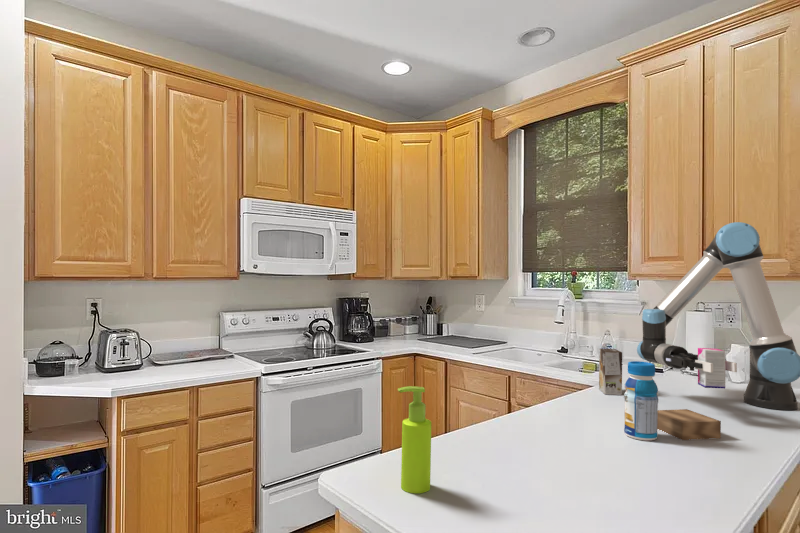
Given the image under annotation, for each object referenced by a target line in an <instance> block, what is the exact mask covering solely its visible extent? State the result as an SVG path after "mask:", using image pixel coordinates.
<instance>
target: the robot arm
mask: <svg viewBox="0 0 800 533" xmlns="http://www.w3.org/2000/svg"><path fill="white" fill-rule="evenodd" d="M760 241H761V240H760V234H759V232H758V231H757V229H756V228H755V227H754V226H753V225H751V224H749V223H746V222H740V221H738V222H737V221H734V222H729V223H727V224H724V225H723V226H722V227H720V229H719V230H718V231H717V232H716V234H715V236H714V237H713V239H712V240H711V242H710V244H709V245H708V246H707V247H706V248H705V249H704V250H703V252H702V253H703V255H702V257H701V258H700V259H698V261H697V262H696V263H695V264H694V265H693V266H692V267H691V268H690V270H689V271H687V272H686V273H685V274H684V276H682V278H681V279H680V280H679V281H678V282H677V283H676V284H675V285H674V286H673V287H672V288H671V289H670V290H669V291H668V293H666V295H664V297H663V298H662V299H661V300H660V301H659V302H658V303H657V304H656V305H655V307H653V308H645V309H643V310H642V316H641V320H642V321H641V322H642V341H640V342H639V343H638V345H637V347H636V352H637V355H638V356H639V357H640V359H642V360H643V361H646V362H648V363H652V364H658V365H663V366H665V368H668V367H670V368H672V369H673V368H674V369H677V370H681V369H687V368H689V371H691V372H693V371H695V370H697V371H698V370H702V371H706V372H710V373H713V363H709V362H704V361H700V360H698V354H694V353H693V352H688V350H687V349H686V348H685V347H683V346H680V345H679V346H678V345H674V344H669V343H667V338H666V336H667V334H666V333H667V332H666V331H667V330H666V329H667V328H666V327H667V326H668V325H669V324H670V323H671V321H673V319H675V317H676V316H678V314H679V313H681V311H682V310H683V309H684V308H685V307H687V305H688V304H689V303H690V302H691V301H692V300H693V299H694V298H695V297H696V296H697V295H698V294H699V293H700V292H701V291H702V290H703V289H704V288H705V287H706V286H707V285H708V284H709V283H710V282H711V281H712V280H713V278H715V277H716V276H717V275H718V274H719V273H720V272H721V271H722V270H723V269H728V270H729V271H730V274H731V276H732V279H733V282H734V285H735V288H736V291H737V296H738V298H739V301H740V303H741V306H742V310H743V314H744V315H745V319H746V321H747V325H748V328H749V331H750V333H751V340H750V341H749V343H748V344H749V346H748V347H749V381H748V383H747V386H746V388H745V390H744V393H743V402H744V403H745V404H747V405H752V406H755V407H758V408H759V407H760V408H765V409H771V410H772V409H773V410H778V411H779V410H780V411H795V410H797V409H798V407H799V406H798V400H797V397H796V395H795V394H796V393H795V392H794V389H793V386H792V383H793V382H795V381H797V380H798V379H799V378H800V355H799V354H798V352H797V349H796V346H795V343H794V340H793V338H792V336H790V335H788V334H786V333H785V332H784V329H783V325H782V322H781V321H780V318H779V315H778V311H777V309H776V308H777V307H776V306H775V302H774V300H773V297H772V293H771V291H770V288H769V285H768V282H767V280H766V277H765V273H764V271H763V268H762V265H761V261H762V260H763V259H764V254H763V251H762V247H761V245H760ZM725 371H728V372H732V373H737V372H738V364H737V362H733V361H728V360H726V358H725Z"/></svg>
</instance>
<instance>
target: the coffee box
mask: <svg viewBox="0 0 800 533" xmlns="http://www.w3.org/2000/svg"><path fill="white" fill-rule="evenodd" d="M598 352H599V353H598V357H599V358H598V361H599V362H598V379H599V380H598V390H599V391H600V392H602V393H603V394H604V395H609V396H610V395H611V396H622V395H623V352H622V351H620V350H618V349H615V348H599V350H598Z"/></svg>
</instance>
